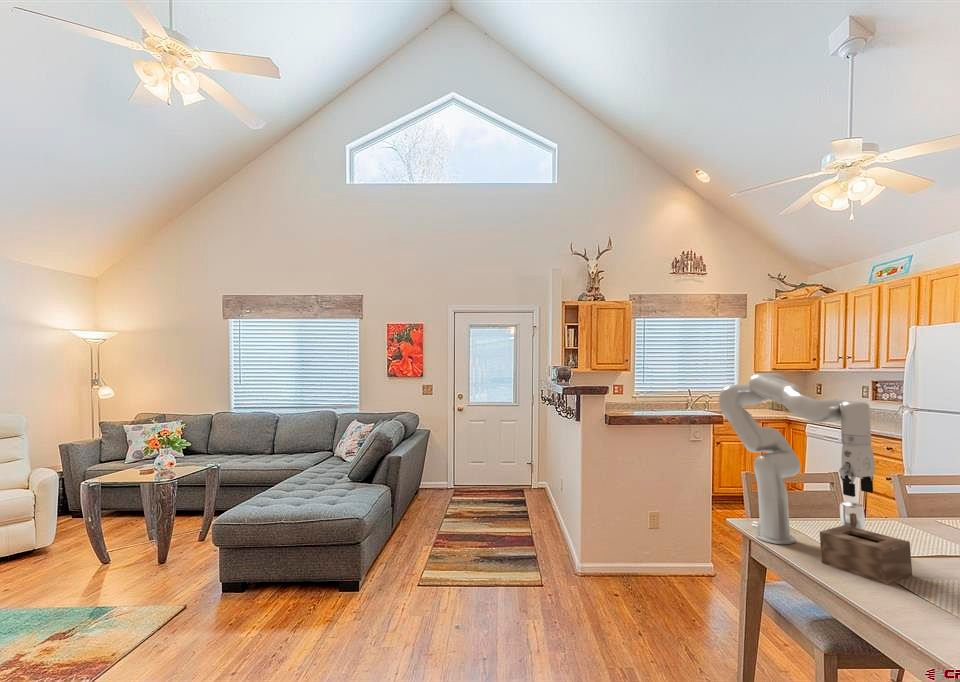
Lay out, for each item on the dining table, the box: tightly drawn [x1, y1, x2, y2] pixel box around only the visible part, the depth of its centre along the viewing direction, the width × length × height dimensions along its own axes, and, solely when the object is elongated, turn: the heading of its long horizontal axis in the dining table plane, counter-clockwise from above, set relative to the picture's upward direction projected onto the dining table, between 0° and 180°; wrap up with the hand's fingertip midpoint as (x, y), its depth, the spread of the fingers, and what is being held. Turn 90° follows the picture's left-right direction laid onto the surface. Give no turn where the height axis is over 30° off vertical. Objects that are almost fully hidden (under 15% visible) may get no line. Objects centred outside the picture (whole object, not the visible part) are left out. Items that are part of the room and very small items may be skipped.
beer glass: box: [839, 501, 866, 530], centre depth 170 cm, size 7×7×15 cm
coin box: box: [819, 525, 913, 585], centre depth 152 cm, size 18×14×10 cm
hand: (858, 493), depth 154 cm, fingers open, 9 cm apart
